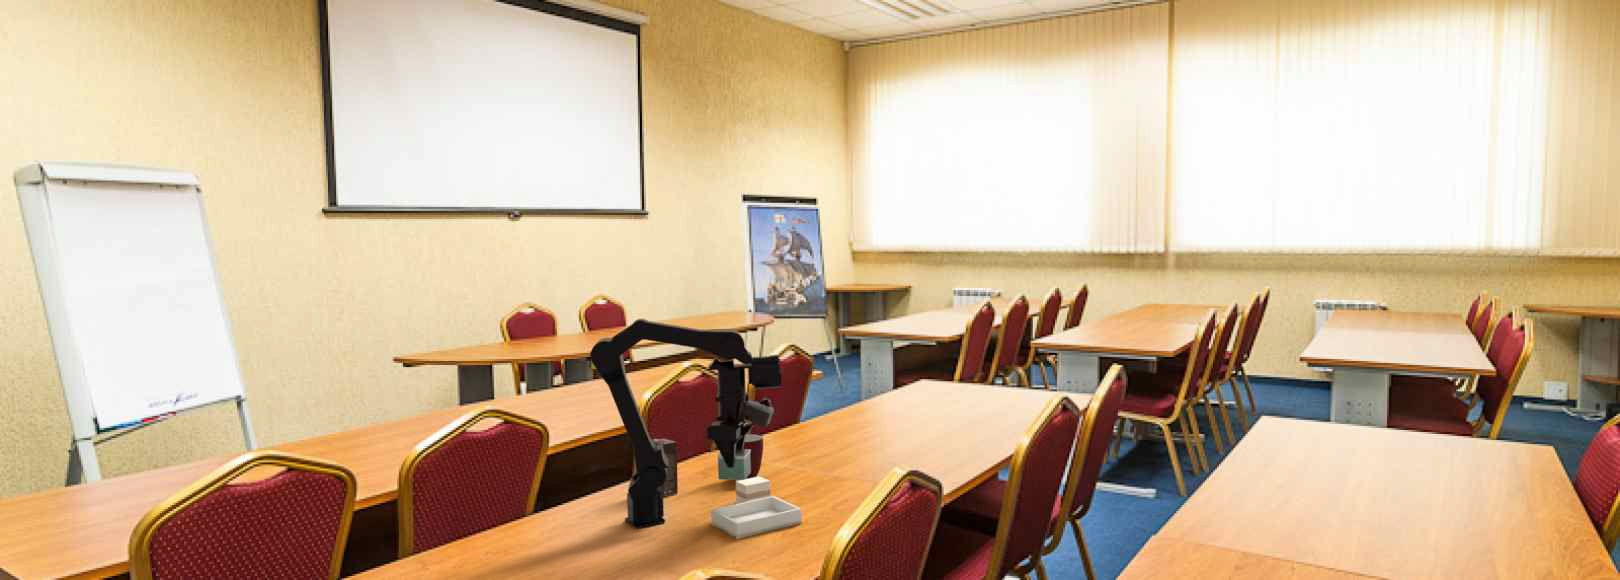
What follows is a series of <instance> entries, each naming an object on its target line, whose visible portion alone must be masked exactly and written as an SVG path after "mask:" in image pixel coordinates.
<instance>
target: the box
mask: <svg viewBox="0 0 1620 580" xmlns="http://www.w3.org/2000/svg"><path fill="white" fill-rule="evenodd" d="M651 440H652V441H653V442H654V444H655V445H656V446H657V445H659V444H660V443H662V445H663V449H664V453H665V455H666V457H667V458H668V459H669V463H668V468H667V476H666V480H665V482H664V483H663V484H662V485H661V486H660V487H658V488H657V490H659V491H661V497H667V496H671V495H675V494H678V493H679V490H678V489H679V487H678V486H679V485H678V442H677V441H674V440H671V439H668V438H665V437H664V438H663V437H662V438H656V439H651Z"/></svg>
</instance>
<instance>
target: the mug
mask: <svg viewBox="0 0 1620 580" xmlns="http://www.w3.org/2000/svg"><path fill="white" fill-rule="evenodd" d="M743 449H751V452H750V461H751V473H750V474H749V475H748V477H747V478H746V479H749V478H754V477H758V475H759V472H760V469H761V466H762V460H763V452H764V437H763V436H762V435H760V434H751V433H750V434H749V433H747V434H746V438H745V442H744V447H743Z"/></svg>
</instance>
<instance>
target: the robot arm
mask: <svg viewBox="0 0 1620 580" xmlns="http://www.w3.org/2000/svg"><path fill="white" fill-rule="evenodd" d="M642 340H645V341H652V342H657V343H658V342H659V343H662V344H663V343H664V344H670V345H676V346H682V347H687V348H695V349H698V350H702V351H704V352H707V353H708V354H711V355H715V357H714V358H713V360H712V362H710V363H709V364H708V365H707V368H708V370H709V371H717V396H715V402H716V403H717V402H718V415H717V416H716V417H715V418H716V419H715V420H716V421H714V422H713V423H711V425H709V426H708V427H707V428H706V430H705V431H706V435H705V436H706V440H709V441H713V443H714V444H715V446H716V447H717V449H718V451H719V454H720V453H721V455H722V457H723V459H724V461H725V463H726V465H727V467H728V468H733V466H734V459H735V450H736V449H743V447H744V442H745V438H746V434H748V433H749V431H750V430H751V429H753V427H754V426H755V424H757V425H759V427H763V428H766V427H767V426H769V424H770V423H771V421H772V418H773V415H774V414H775V410H774V409H775V407H773V406H772V401H771V399H769V398H766V397H764V398H763V399H762V400H761V401H753V400H751V397H750V396H751V395H750V394H749V392H747V391H746V369H747V382H748V385H752V386H753V389H754V390H757V389H758V390H759V389H775V388H776V389H777V388H781V387H782V371H781V368H780V357H779V356H778V355H777V354H772V355H768V356H767V355H765V356H753V355H752V353H751V351H749V350H748V349H747V348H746V347H745V340H744V338H743V337H742V335H741V333H740V332H739V331H737V330H736V329H733V328H710V329H709V328H707V329H698V328H693V327H688V326H687V327H686V326H680V325H675V324H669V323H663V322H656V321H652V320H647V319H645V318H638V319H636V320H635V321H633V323H632V324H630V325H628V326H627V327H625V328H624V329H623V330H620V332H618V333H616V334H615V335H614V336H612V337H603V338H600V339H599V340H598V341H597V342H596V343H595V344H594V345H593V347H592V348H591V351H590V352H589V353H590V355H589V357H590V361H591V363H592V365H593V367H594V368H595V370H596V371H597V373H598V374H599V376H600V377H601V378H602V380H603V381H604V382H605V384H606V385H607V387H608V388H609V390H610V393H611V397H612V398H613V401H614V403H615V406H616V408H617V409H616V410H617V411H618V414H619V416H620V418H621V421H622V423H623V426H624V428H625V431H626V434H627V436H628V438H629V441H630V443H631V446H632V449H633V456H634V462H635V468H636V472H635V473H634V474H633V475H631V478H630V480H629V484H628V489H627V491H628V492H627V493H626V502H627V504H626V505H627V517H625V518H624V521H625V522H626V523H628V524H629V525H631V526H632V527H634V528H636V529H641V528H645V527H649V526H654V525H659V524H662V523H665V522H666V519H665V518H663V517H664V516H665V513H664V511H665V510H664V497H663V496H661V491H659V490H657V488H658V487H660V486H661V485H662V484H663V483H664V482H665V480H666V476H667V468H668V463H669V459H668V458H667V457H666V455H665V453H664V449H663V445H662V443H660V444H659V445H657V446H656V445H655V444H654V442H653V441H652V440H653V439H652V438H651V437H650V434H649V431H648V429H647V426H646V424H645V421H644V419H643V416H642V414H641V411H640V409H639V406H638V403H637V401H636V398H635V395H634V393H633V391H632V388H631V386H630V383H629V381H628V378H627V372H626V366H625V359H624V355H623V354H624V353H626V352H627V351H629V350H630V349H632V348H633V347H634V346H635V345H637V344H638V343H640V342H641V341H642ZM716 356H717V357H716ZM718 357H719V358H723V359H726V360H721V359H720V360H719V359H718ZM734 360H736V361H738V362H740V363H738V364H737V363H735V362H734ZM748 422H751V423H752V424H751V423H748ZM753 423H755V424H753Z"/></svg>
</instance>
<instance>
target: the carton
mask: <svg viewBox="0 0 1620 580" xmlns="http://www.w3.org/2000/svg"><path fill="white" fill-rule="evenodd" d="M767 497H771V481H770V480H769V479H766V478H763V477H762V476H757V477H754V478H749V479H745V480H735V499H736V500H735V501H736V503H735V504H739V503H743V502H748V501H753V500H757V499H762V498H767Z"/></svg>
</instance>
